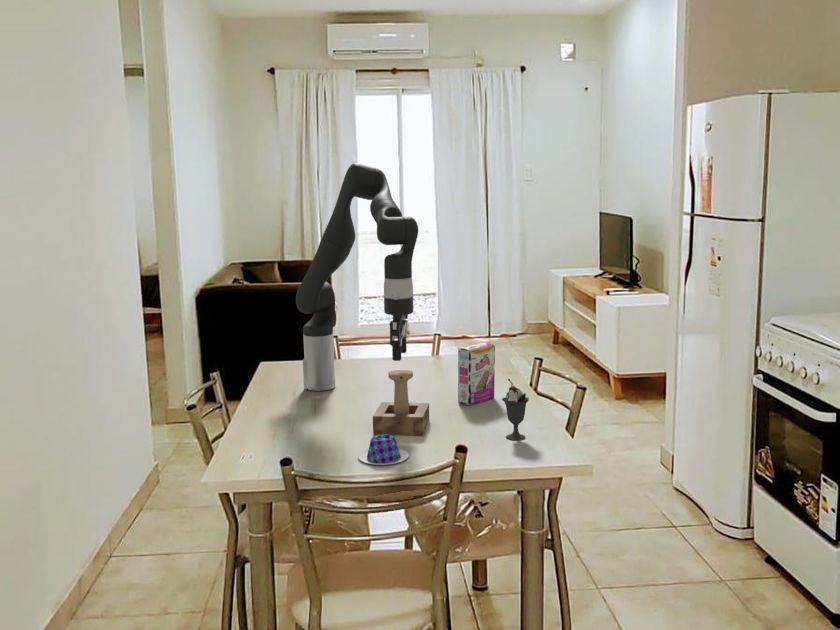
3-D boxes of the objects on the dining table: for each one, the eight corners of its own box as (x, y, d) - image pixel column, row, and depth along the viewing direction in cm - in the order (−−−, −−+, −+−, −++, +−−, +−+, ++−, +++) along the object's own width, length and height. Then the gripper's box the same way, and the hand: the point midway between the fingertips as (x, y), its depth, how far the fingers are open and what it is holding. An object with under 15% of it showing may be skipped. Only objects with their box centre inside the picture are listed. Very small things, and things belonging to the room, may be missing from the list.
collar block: (373, 434, 217) (372, 416, 217) (382, 419, 230) (381, 402, 229) (423, 436, 216) (422, 417, 215) (429, 420, 228) (429, 403, 227)
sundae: (501, 433, 216) (501, 376, 214) (527, 433, 216) (527, 376, 213) (503, 441, 210) (502, 383, 207) (530, 441, 210) (530, 383, 207)
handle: (415, 429, 221) (413, 374, 218) (390, 431, 220) (389, 375, 218) (413, 424, 226) (411, 369, 223) (389, 425, 225) (387, 370, 222)
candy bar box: (470, 406, 241) (469, 350, 238) (457, 403, 245) (456, 347, 242) (495, 398, 249) (495, 343, 246) (483, 395, 252) (482, 341, 250)
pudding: (392, 447, 209) (392, 426, 208) (418, 461, 199) (417, 439, 198) (349, 456, 203) (348, 435, 202) (373, 471, 192) (372, 449, 192)
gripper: (388, 290, 224) (390, 350, 227) (379, 299, 210) (380, 362, 213) (416, 290, 223) (417, 350, 226) (408, 299, 209) (409, 363, 212)
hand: (399, 356), depth 219 cm, fingers open, 8 cm apart
